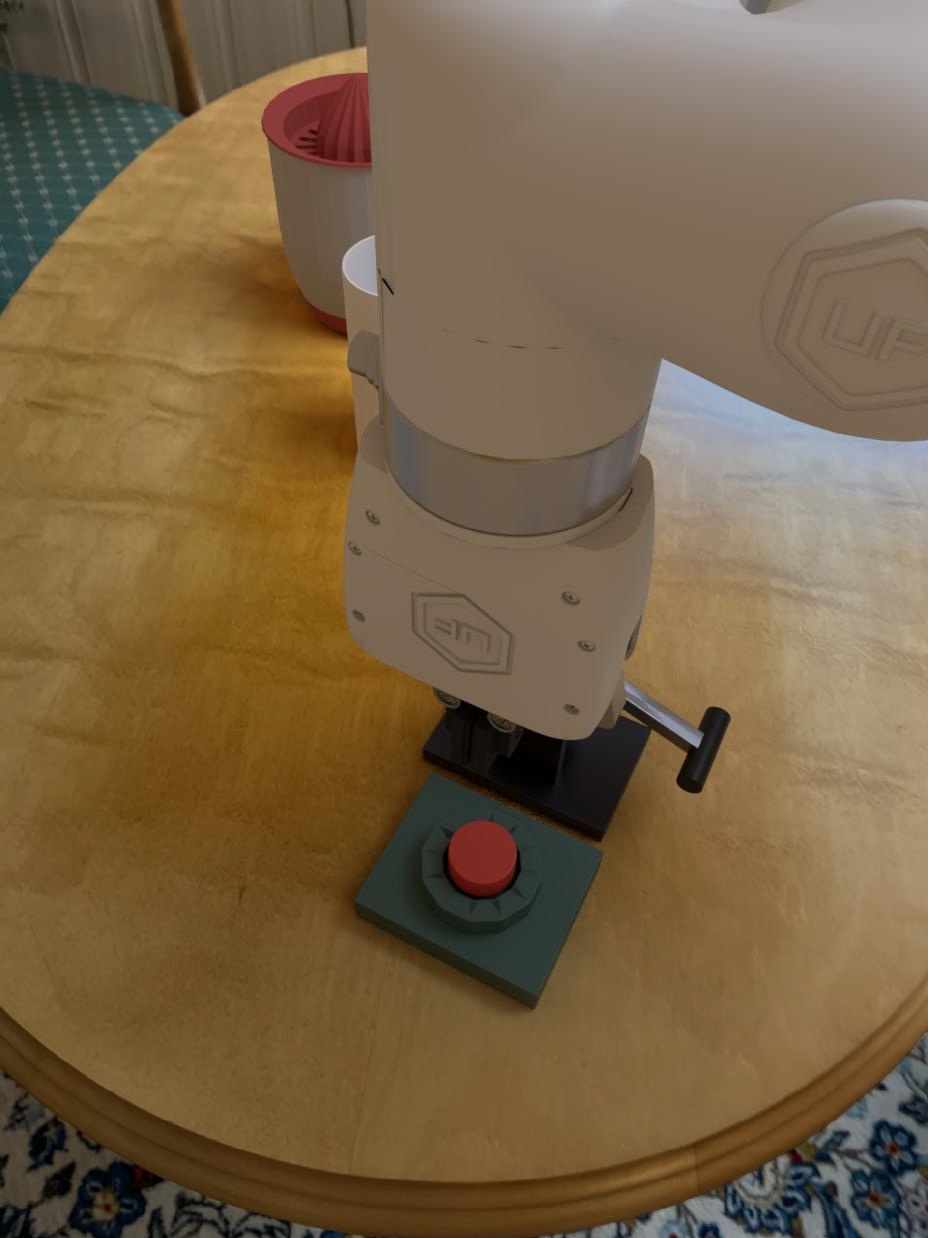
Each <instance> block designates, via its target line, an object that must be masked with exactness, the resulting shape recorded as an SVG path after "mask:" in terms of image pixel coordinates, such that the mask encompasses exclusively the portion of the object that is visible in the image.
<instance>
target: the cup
mask: <svg viewBox="0 0 928 1238" xmlns="http://www.w3.org/2000/svg"><path fill="white" fill-rule="evenodd" d="M342 278H343V290H344V301H345V312H346V323H347V333H346V334H347V345H348V348H349V347H350V344H351V342H352V340H353V338H354V336H355V335H356V334H357V333H358V332H359V331H361V330H363V329H364V330H366V331H369V332H372V333H375V334H378V335H379V318H378V296H377V274H376V251H375V235H373V236H370V237H368V238H365V239H363V240H361V241H359V242H358V243H356V244H355V245H353V246H352V247H351V248H350V249H349V250H348V251H347V253H346V254H345V256H344V258H343V262H342ZM350 377H351V378H350V379H351V387H352V388H351V390H352V398H353V399H352V401H353V411H354V412H353V413H354V422H355V423H354V424H355V433H356V443H357V444H356V445H357V449H358V448H359V444H360V440H361V436H362V434H363V431H364V430H365V428H366V426H367V425H368V424H369V423H370V422H371V421H372V420H373V419H374V418H375V417H376V416H377V415H378V414H379V397H378V391H377V389H376V388H375V387H374V385H372V384H370V383H369V382H368V379H367V378H366V377H363V376H360V375H357V374H355V373H352V372H350Z"/></svg>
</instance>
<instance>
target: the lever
mask: <svg viewBox="0 0 928 1238" xmlns="http://www.w3.org/2000/svg"><path fill="white" fill-rule="evenodd" d="M624 683H625V693H626V703H625V705H624V707H623V709H622V711H625V712H626V713H627V714H629V715H630V716H632V717H633V718H635V719H636V720H638V721H639V722H641V724H643V725H645V726H647V727H649V728H651V729H652V730H653V732H655V733H657V734H658V735H660V736H661V737H662V738H664V739H665V740H667V741H668V742H670V743H671V744H673V745H674V746H675V747H677V748H678V749H680V750H681V751H682V752H685V753H686V755H685V757H684V760H683V763H682V765H681V767H680V769H679V771H678V774H677V777H676V779H675V783H676V785H677V786H678V788H680V789H681V790H682V791H683V792H684V791H685V792H687V793H689V794H693V795H697V794H701V793H702V791H703V789H704V787H705V785H706V782H707V780H708V778H709V774H710V772H711V771H712V767H713V765H714V763H715V760H716V758H717V755H718V752H719V750H720V748H721V745H722V743H723V740H724V738H725V735H726V733H727V730H728V728H729V726H730V723H731V721H732V720H731V719H732V717H731V714H730V713H729V712H728V710H726V709H724V708H722V707H720V706H714V705H713V706H708V707H707V708H706V709H705V711H704V713H703V716H702V718H701V720H700V723H699V725H698V727H695V726H694V725H692V724H691V723H690V722H688V721H687V720H685V719H684V718H683V717H681V716H679V715H678V714H677V713H675V712H674V711H672V710H671V709H669V708H668V707H667V706H665V705H664V704H662V703H661V702H659V701H658V700H656V699H655V698H653V697H652V696H650V695H649V694H648V693H646V691H645V692H644V690H642V689H640V688H639V687H637V686H636V685H634V684H633V683H631V681H629V680H627V679H626V678H624Z"/></svg>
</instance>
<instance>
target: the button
mask: <svg viewBox="0 0 928 1238" xmlns="http://www.w3.org/2000/svg"><path fill="white" fill-rule="evenodd" d="M516 858H517V848H516V844H515V841H514V839H513V837H512V836H511V834H510V833H509V832H508V831H507V830H506V829H505V828H503V827H502V826H500V825H499V824H497V823H494V822H491V821H483V820H480V821H474V822H470V823H468V824H466V825H464V826H462V827H461V828H460V829H459V830H457V832H456V833H455V834H454V836H453V837H452V839H451V841H450V844H449V858H448V866H449V872H450V875H451V878H452V880H453V881H454V883H455V884H456V885H457V886H458V887H459V888H460V889H461V890H463V891H464V892H466V893H468V894H470V895H474V896H481V897H484V896H491V895H494V894H497V893H499V892H500V891H502V890H503V889H505V888H506V887H507V886H508V884H509V883H510V882H511V880H512V878H513V875H514V872H515V865H516Z"/></svg>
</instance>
